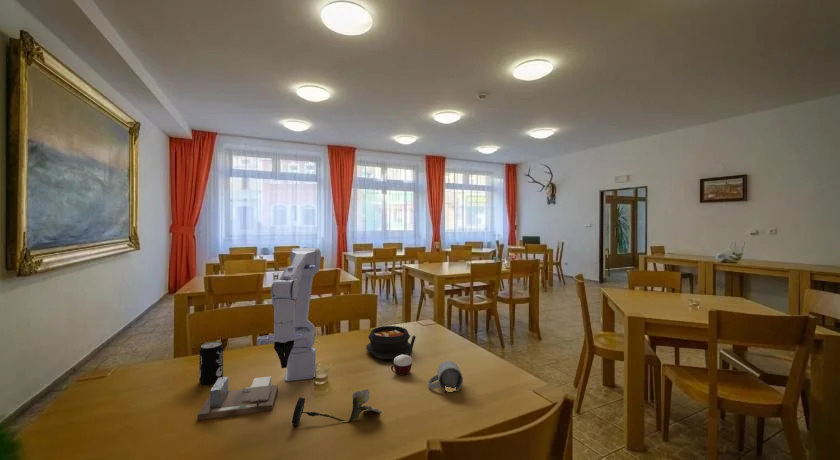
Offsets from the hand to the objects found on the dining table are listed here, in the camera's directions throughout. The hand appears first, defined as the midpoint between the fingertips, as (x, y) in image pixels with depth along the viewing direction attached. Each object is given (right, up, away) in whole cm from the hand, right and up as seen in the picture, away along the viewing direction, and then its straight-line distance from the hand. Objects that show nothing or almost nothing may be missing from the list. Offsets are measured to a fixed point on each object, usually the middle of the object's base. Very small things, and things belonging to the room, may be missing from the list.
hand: (284, 366), depth 99 cm
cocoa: (+34, -10, +18) cm, 40 cm away
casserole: (+27, -10, +38) cm, 48 cm away
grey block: (-16, -8, -5) cm, 19 cm away
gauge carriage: (-7, -8, -3) cm, 11 cm away
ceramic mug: (+48, -10, +8) cm, 50 cm away
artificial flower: (+19, -10, -10) cm, 23 cm away
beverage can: (-28, -9, +11) cm, 31 cm away
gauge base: (-11, -9, -3) cm, 15 cm away
